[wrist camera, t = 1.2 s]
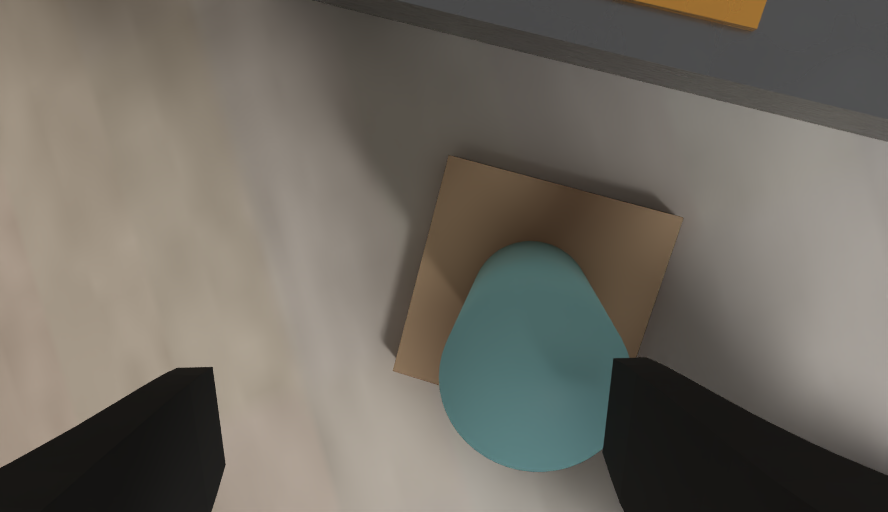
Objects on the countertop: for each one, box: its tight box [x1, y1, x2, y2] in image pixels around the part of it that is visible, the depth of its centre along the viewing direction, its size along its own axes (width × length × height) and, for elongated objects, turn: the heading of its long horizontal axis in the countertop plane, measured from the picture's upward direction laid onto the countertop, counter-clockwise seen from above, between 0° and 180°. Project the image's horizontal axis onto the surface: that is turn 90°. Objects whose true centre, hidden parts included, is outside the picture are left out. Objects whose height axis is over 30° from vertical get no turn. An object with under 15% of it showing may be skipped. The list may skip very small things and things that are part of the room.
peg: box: [439, 241, 629, 472], centre depth 16 cm, size 4×4×8 cm
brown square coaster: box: [393, 155, 683, 385], centre depth 20 cm, size 8×8×1 cm
